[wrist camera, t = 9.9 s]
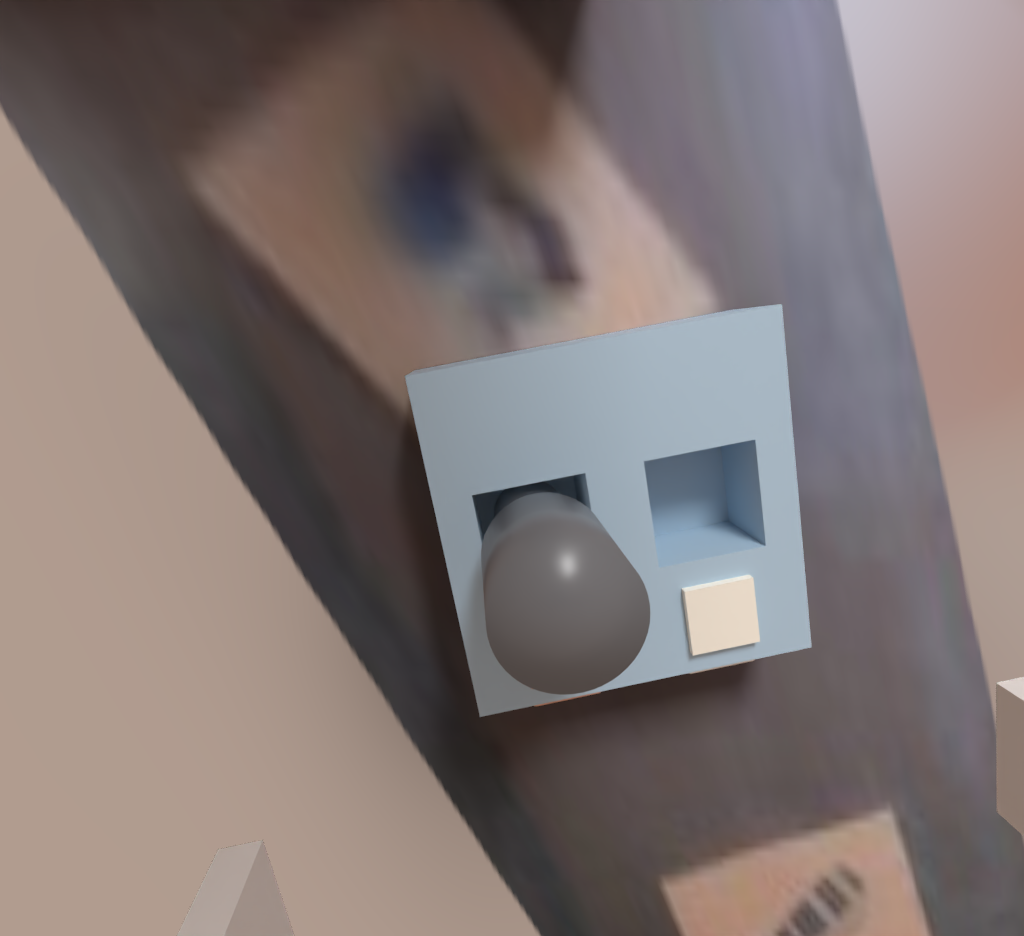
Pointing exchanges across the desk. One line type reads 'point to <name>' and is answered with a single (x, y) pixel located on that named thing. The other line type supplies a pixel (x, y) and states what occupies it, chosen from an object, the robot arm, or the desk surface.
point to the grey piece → (559, 593)
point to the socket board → (634, 482)
